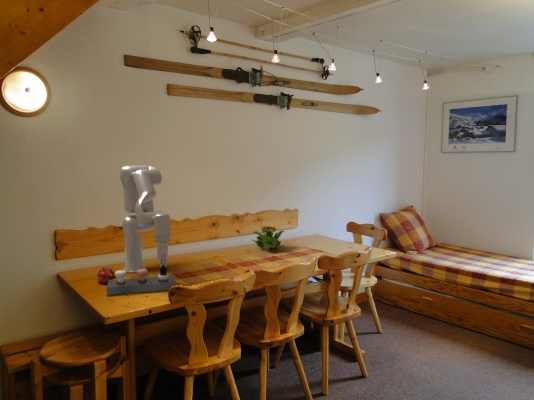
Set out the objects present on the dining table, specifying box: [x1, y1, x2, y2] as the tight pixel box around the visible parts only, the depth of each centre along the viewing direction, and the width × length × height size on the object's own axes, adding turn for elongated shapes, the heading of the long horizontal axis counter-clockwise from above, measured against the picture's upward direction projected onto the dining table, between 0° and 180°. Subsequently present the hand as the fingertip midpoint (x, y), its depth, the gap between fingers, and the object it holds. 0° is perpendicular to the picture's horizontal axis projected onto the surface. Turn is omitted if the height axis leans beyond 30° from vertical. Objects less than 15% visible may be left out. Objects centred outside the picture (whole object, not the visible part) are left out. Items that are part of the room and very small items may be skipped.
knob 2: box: [157, 273, 169, 281], centre depth 206 cm, size 5×5×6 cm
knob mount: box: [106, 274, 177, 297], centre depth 203 cm, size 12×32×4 cm, turn 106°
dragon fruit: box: [96, 266, 117, 285], centre depth 213 cm, size 8×8×12 cm
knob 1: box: [114, 269, 127, 284], centre depth 200 cm, size 5×5×6 cm
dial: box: [136, 268, 149, 282], centre depth 203 cm, size 5×5×6 cm
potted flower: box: [252, 225, 287, 253], centre depth 284 cm, size 25×24×18 cm
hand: (163, 274), depth 205 cm, fingers closed
